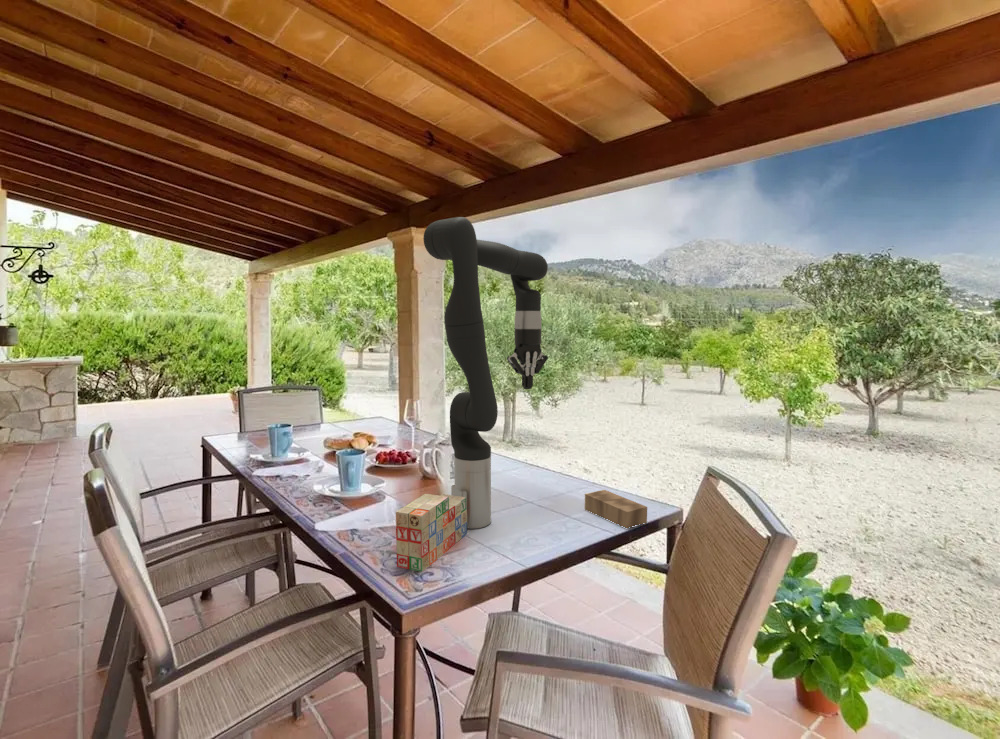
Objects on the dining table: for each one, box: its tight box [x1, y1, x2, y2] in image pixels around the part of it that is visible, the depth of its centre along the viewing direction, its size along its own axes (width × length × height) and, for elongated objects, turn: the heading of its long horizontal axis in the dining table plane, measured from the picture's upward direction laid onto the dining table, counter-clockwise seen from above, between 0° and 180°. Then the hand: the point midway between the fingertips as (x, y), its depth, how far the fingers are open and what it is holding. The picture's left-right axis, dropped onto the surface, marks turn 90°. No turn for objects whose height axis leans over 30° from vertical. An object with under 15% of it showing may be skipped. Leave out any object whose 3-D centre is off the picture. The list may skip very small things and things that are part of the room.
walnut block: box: [584, 489, 648, 529], centre depth 142 cm, size 7×4×16 cm
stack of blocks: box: [395, 493, 468, 573], centre depth 121 cm, size 21×6×12 cm, turn 158°
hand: (527, 388), depth 153 cm, fingers closed
